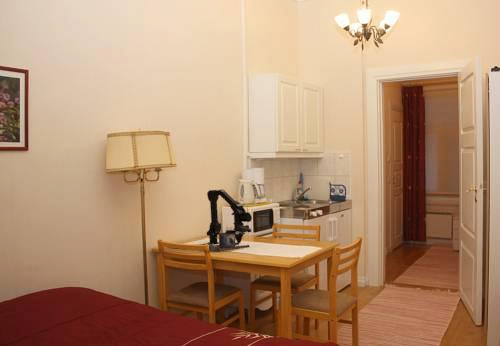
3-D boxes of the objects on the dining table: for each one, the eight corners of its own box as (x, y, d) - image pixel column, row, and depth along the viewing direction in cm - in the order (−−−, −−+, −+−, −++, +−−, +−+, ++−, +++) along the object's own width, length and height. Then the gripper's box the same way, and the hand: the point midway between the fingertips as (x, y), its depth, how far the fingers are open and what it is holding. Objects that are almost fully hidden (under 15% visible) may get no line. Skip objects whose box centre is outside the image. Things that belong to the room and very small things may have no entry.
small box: (221, 249, 324) (220, 234, 324) (218, 247, 330) (218, 233, 330) (235, 248, 327) (235, 233, 327) (233, 246, 334) (232, 232, 333)
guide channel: (205, 248, 329) (205, 244, 328) (238, 244, 343) (238, 240, 343) (216, 251, 316) (215, 247, 316) (249, 247, 331) (249, 242, 331)
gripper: (233, 223, 322) (233, 246, 323) (255, 220, 333) (256, 242, 333) (224, 222, 332) (225, 244, 332) (246, 219, 342) (247, 241, 342)
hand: (239, 243), depth 335 cm, fingers closed, pressing on small box
